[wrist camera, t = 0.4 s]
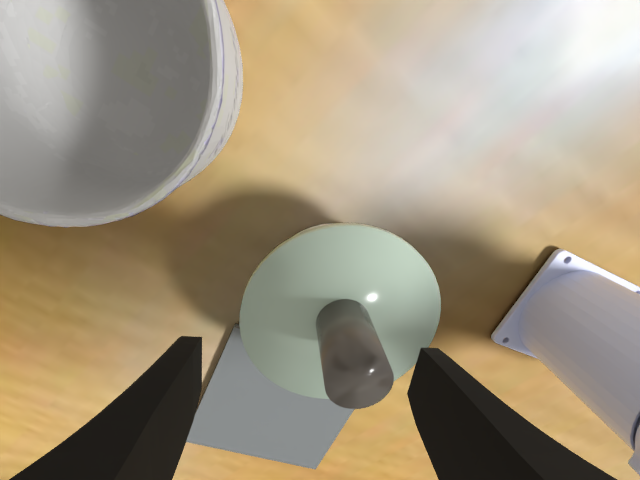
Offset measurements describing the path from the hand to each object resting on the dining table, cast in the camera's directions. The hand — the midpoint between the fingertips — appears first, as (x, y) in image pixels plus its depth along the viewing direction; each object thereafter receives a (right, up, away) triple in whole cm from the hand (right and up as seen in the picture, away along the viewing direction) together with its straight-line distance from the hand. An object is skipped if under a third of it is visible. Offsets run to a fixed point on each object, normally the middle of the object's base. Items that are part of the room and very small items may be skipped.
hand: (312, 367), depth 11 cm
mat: (-3, -8, +14) cm, 16 cm away
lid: (+1, 0, +7) cm, 7 cm away
